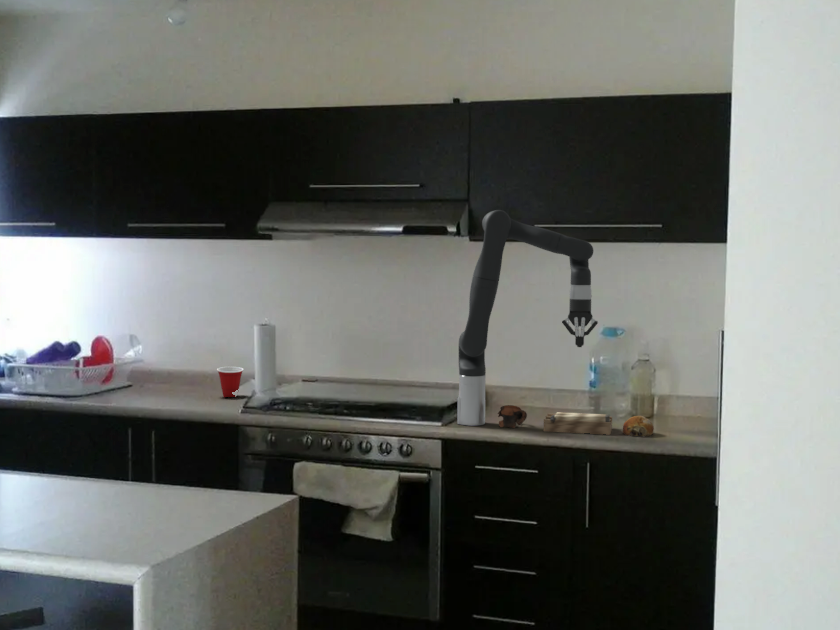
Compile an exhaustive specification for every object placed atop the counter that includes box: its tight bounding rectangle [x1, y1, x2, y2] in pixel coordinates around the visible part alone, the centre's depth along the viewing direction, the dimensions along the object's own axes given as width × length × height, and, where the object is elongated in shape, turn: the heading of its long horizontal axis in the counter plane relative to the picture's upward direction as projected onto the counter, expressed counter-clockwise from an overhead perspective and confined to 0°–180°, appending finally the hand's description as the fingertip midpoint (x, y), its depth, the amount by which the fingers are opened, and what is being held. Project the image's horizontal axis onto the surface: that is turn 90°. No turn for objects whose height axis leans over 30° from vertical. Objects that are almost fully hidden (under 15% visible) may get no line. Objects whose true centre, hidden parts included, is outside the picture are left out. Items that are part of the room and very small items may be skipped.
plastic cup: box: [216, 366, 244, 398], centre depth 378 cm, size 11×11×12 cm
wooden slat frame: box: [543, 411, 613, 436], centre depth 311 cm, size 22×12×5 cm, turn 75°
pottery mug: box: [497, 404, 528, 429], centre depth 318 cm, size 12×10×8 cm
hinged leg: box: [550, 414, 611, 422], centre depth 308 cm, size 20×3×2 cm, turn 75°
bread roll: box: [622, 415, 655, 437], centre depth 304 cm, size 10×10×8 cm
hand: (579, 346), depth 322 cm, fingers closed
